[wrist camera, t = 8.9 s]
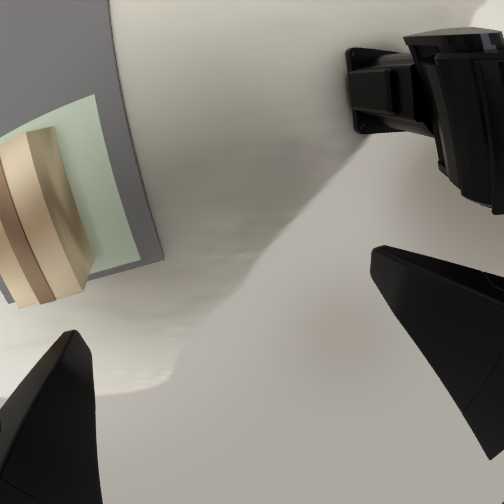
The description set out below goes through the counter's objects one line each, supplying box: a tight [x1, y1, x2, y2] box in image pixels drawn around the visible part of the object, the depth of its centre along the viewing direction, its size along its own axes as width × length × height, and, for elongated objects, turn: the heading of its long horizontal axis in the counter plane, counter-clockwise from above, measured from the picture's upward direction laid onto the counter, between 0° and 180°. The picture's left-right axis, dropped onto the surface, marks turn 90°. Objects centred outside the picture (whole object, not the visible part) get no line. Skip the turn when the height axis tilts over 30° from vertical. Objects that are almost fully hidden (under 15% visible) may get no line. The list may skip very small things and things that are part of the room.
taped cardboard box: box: [0, 126, 96, 309], centre depth 13 cm, size 9×5×4 cm, turn 8°
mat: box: [0, 0, 164, 304], centre depth 11 cm, size 14×28×1 cm, turn 9°
